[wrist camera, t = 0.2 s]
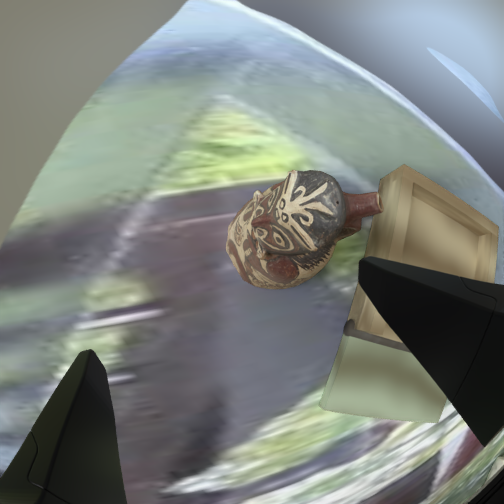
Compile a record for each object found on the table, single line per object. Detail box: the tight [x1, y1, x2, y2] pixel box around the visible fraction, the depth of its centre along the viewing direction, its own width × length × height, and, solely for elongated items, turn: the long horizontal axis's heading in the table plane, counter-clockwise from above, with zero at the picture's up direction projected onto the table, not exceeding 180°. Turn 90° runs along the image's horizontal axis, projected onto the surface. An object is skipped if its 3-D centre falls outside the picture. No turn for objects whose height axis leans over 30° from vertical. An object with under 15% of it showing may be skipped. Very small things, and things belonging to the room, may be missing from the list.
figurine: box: [226, 170, 384, 289], centre depth 19 cm, size 7×7×12 cm
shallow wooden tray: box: [319, 164, 499, 423], centre depth 25 cm, size 21×14×4 cm
